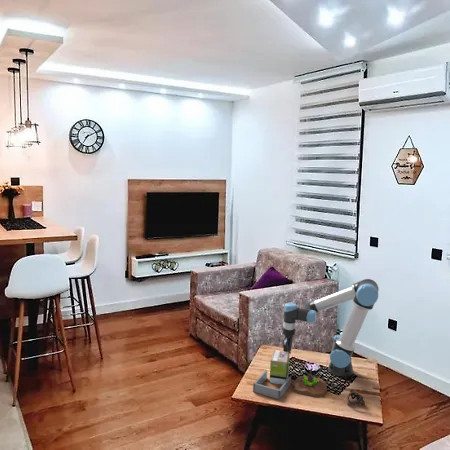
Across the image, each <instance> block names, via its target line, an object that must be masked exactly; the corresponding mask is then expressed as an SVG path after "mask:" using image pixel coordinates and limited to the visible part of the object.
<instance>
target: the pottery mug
mask: <svg viewBox="0 0 450 450" xmlns="http://www.w3.org/2000/svg"><path fill="white" fill-rule="evenodd" d="M355 399H356V400H355ZM353 400H355V401H353ZM346 403H347V405H348V406H352V407H358V406H362V404H363V406H365V405H366V401H365V400H364V396H363V395H362V394H361V393H360V392H358V391H355V390H354V388H353V389H352V388H351V389H350V390H349V393H348V394H347V401H346Z"/></svg>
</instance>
